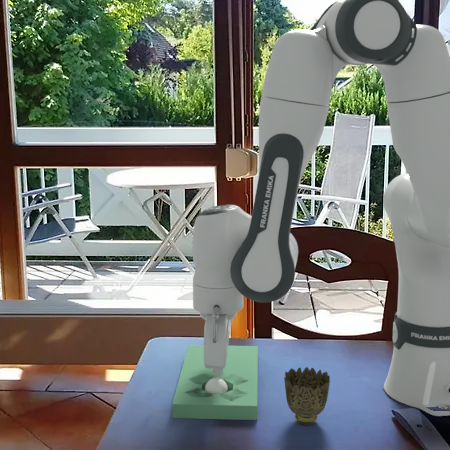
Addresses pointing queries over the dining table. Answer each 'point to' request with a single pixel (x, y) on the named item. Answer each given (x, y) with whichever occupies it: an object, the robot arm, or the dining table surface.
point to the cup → (306, 393)
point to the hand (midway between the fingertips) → (218, 371)
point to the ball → (216, 386)
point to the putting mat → (212, 402)
